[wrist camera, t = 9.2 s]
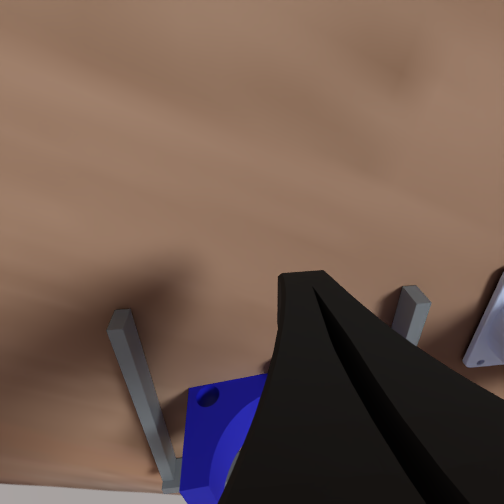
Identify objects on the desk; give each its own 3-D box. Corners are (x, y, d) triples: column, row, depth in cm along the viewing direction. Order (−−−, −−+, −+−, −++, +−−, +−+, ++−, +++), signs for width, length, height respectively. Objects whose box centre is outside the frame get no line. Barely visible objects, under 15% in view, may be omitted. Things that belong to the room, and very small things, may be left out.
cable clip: (369, 335, 20) (421, 430, 15) (367, 380, 22) (412, 476, 17) (182, 371, 20) (169, 477, 15) (200, 411, 22) (195, 515, 17)
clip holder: (416, 285, 18) (437, 309, 16) (369, 442, 26) (380, 468, 24) (114, 309, 17) (103, 338, 15) (167, 464, 25) (163, 494, 23)
